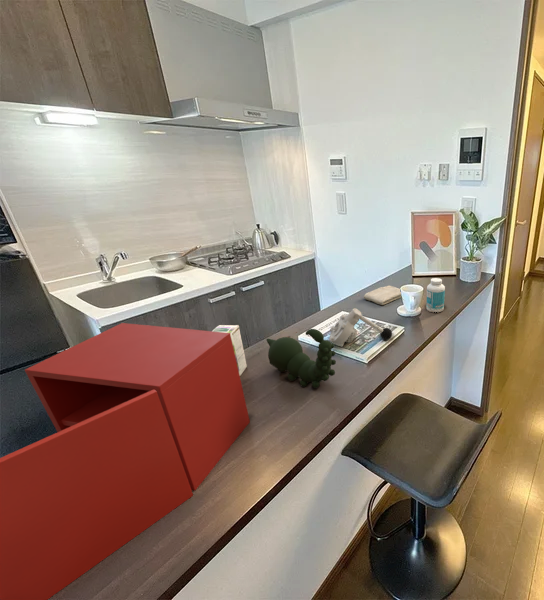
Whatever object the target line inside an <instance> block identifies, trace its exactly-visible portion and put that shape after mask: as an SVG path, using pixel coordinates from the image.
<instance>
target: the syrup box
mask: <svg viewBox="0 0 544 600" xmlns="http://www.w3.org/2000/svg"><path fill="white" fill-rule="evenodd" d="M212 331H213V332H224V333H230V335H231V340H232V344H233V349H234V353H235V358H236V362H237V367H238V371H239V375H240V376H242V374H243V373H244V371H245V370H246V368H247V367H248V365H247V360H246V356H245V351H244V344H243V341H242V336H241V331H240V326H239V324H235V325H234V324H233V325H231V324H229V325H227V324H226V325H225V324H219V325H217V326H216V327H215V328H214V329H213V330H212Z"/></svg>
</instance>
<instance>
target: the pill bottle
mask: <svg viewBox="0 0 544 600" xmlns="http://www.w3.org/2000/svg"><path fill="white" fill-rule="evenodd" d="M445 296H446V286H445V285H444V284H443V279H442V278H439V277H433V278H430V283H429V284H427V286H426V311H428V312H430V313H434V312H435V313H436V312H437V313H441V312H443V311H444V309H445ZM437 313H436V314H437Z"/></svg>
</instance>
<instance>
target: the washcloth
mask: <svg viewBox="0 0 544 600" xmlns="http://www.w3.org/2000/svg"><path fill="white" fill-rule="evenodd" d="M400 289H401V288H398V287H396V286H393V285H390V284H389V285H386V286H380V287H378V288H375V289H373V290H371V291H369V292H366V293H365V294H364V295H363V299H365V300H367V301H369V302H373V303H374V304H377V305H380V306H385V305H387V304H391V302H393V301H394V302H395V300H399V299H401V298H402V297H401V292H400Z"/></svg>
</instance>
